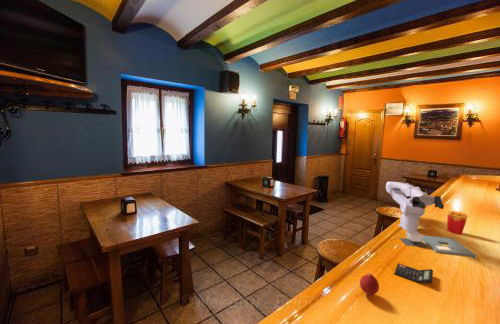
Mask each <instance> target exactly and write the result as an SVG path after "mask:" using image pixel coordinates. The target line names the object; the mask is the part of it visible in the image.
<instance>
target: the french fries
mask: <svg viewBox="0 0 500 324" xmlns="http://www.w3.org/2000/svg"><path fill="white" fill-rule="evenodd" d="M468 217H469V215H468V214H467V213H465V212H463V211H456V210H448V215H447V218H446V219H447V220H446V222H447V223H446V231H448V232H449V233H453V234H455V235H460V236H462V234H463V232H464V229H465V225H466V223H467V218H468Z"/></svg>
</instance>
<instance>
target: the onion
mask: <svg viewBox="0 0 500 324" xmlns="http://www.w3.org/2000/svg"><path fill="white" fill-rule="evenodd" d="M359 287H360V289H361V290H362V291H363V292H364V293H365V295H366V296H374V295H376V294H377V293H378V292H379V289H380V284H379V281H378V279H377V278H376V277H375V276H374V275H373V274H372V273H371V272H368V273H367V274H364V275H363V276H361V278H360V280H359Z"/></svg>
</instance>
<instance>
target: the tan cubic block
mask: <svg viewBox="0 0 500 324" xmlns="http://www.w3.org/2000/svg"><path fill="white" fill-rule="evenodd" d="M422 235H423V234H421V233H420V232H419V231H418V230H417V231H408V230H406V233H405V236H406V238H407V239H410V243H413V244H417V241H420V242H423V240H422V238H423V236H422Z"/></svg>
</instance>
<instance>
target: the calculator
mask: <svg viewBox="0 0 500 324" xmlns="http://www.w3.org/2000/svg"><path fill="white" fill-rule="evenodd" d="M393 275H394V276H398V277H401V278H403V279H405V280H409V281H411V282H414V283H416V284H432V283H433V275H434V270H433V269H432V268H428V269H418V268H414V267H411V266H408V265H405V264H402V263H397V265H396V268H395V271H394V273H393Z"/></svg>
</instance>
